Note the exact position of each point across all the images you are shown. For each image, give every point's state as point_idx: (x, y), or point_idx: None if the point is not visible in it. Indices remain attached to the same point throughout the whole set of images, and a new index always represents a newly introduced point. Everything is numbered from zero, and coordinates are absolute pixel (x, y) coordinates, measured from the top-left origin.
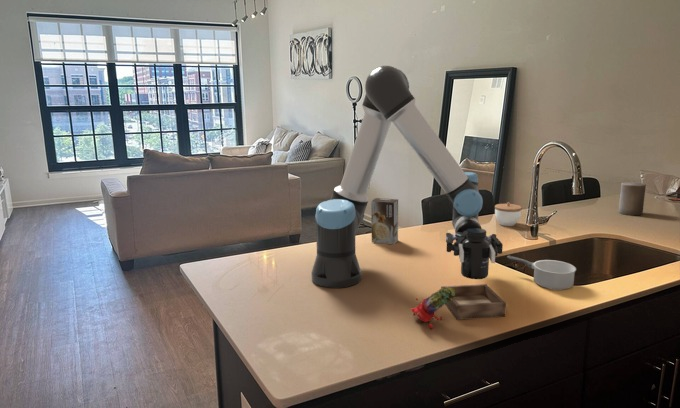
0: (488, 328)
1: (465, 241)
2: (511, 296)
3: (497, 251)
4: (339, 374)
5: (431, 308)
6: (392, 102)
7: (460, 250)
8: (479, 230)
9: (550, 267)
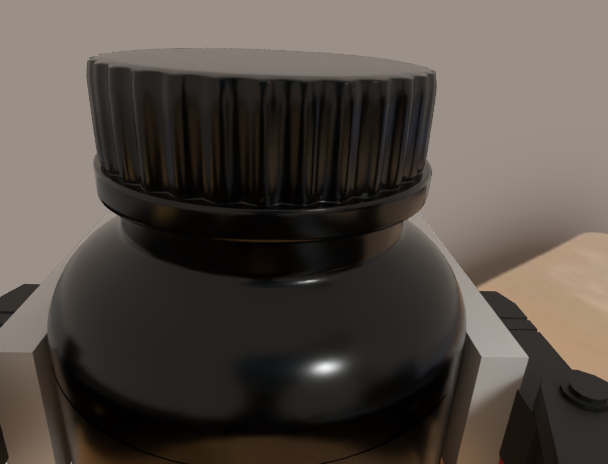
0: None
1: (411, 222)
2: None
3: (10, 301)
4: (557, 263)
5: None
6: None
7: (425, 221)
8: (216, 56)
9: None
